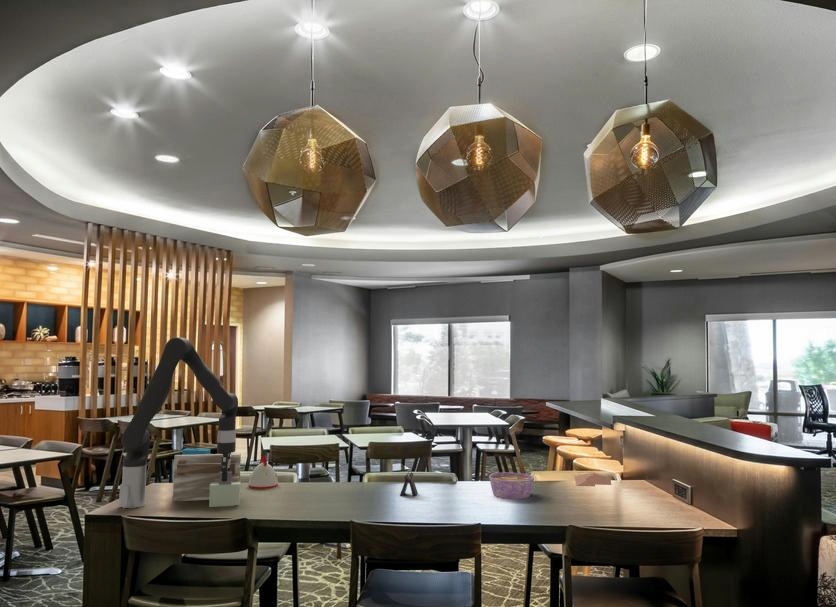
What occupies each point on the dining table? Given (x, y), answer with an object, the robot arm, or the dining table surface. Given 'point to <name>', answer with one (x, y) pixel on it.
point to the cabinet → (225, 491)
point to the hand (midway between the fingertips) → (225, 479)
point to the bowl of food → (511, 485)
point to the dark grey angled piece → (412, 485)
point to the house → (592, 480)
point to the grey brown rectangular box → (199, 475)
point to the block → (195, 451)
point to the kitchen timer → (263, 476)
